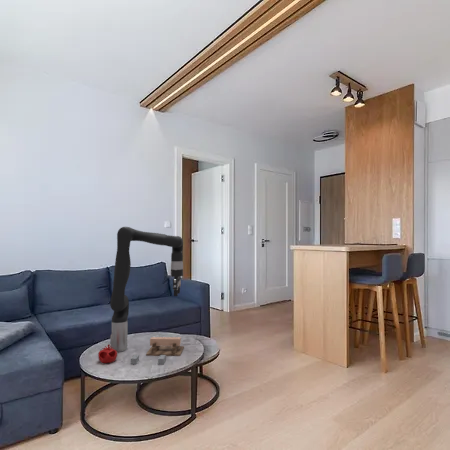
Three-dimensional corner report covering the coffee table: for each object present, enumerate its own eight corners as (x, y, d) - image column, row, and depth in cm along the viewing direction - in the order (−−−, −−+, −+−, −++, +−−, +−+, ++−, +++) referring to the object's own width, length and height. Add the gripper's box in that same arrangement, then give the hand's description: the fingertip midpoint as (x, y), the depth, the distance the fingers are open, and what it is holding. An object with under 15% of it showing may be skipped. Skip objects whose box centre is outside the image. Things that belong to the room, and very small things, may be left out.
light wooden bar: (150, 345, 202) (150, 339, 202) (151, 343, 205) (151, 337, 205) (180, 345, 201) (180, 339, 201) (181, 343, 205) (181, 337, 205)
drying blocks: (130, 364, 184) (130, 358, 184) (133, 360, 190) (133, 354, 190) (163, 364, 183) (163, 359, 183) (165, 360, 189) (165, 355, 189)
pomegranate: (99, 359, 192) (99, 342, 192) (117, 357, 194) (117, 341, 194) (97, 365, 182) (97, 348, 182) (116, 363, 184) (116, 346, 185)
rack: (145, 355, 196) (146, 345, 197) (151, 347, 210) (151, 337, 211) (180, 355, 196) (180, 345, 196) (183, 347, 210) (183, 338, 210)
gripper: (173, 267, 216) (173, 292, 216) (168, 269, 202) (168, 296, 202) (184, 267, 216) (184, 292, 216) (181, 269, 202) (181, 297, 201)
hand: (176, 294), depth 209 cm, fingers open, 8 cm apart
